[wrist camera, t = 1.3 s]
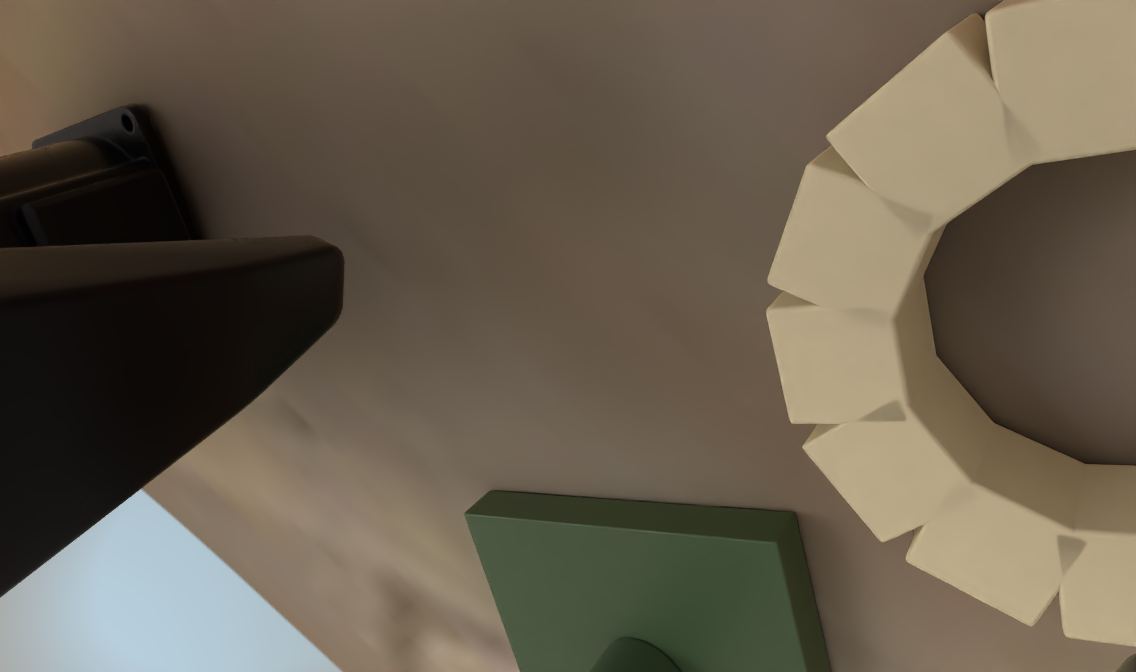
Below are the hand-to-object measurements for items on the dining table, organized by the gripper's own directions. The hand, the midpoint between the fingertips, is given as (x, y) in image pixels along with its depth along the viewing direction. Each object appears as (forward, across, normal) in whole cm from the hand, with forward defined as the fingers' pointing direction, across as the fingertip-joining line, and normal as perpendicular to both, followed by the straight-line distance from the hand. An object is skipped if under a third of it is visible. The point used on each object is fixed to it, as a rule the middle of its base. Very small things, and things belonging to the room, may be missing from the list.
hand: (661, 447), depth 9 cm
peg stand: (+9, +1, +13) cm, 16 cm away
